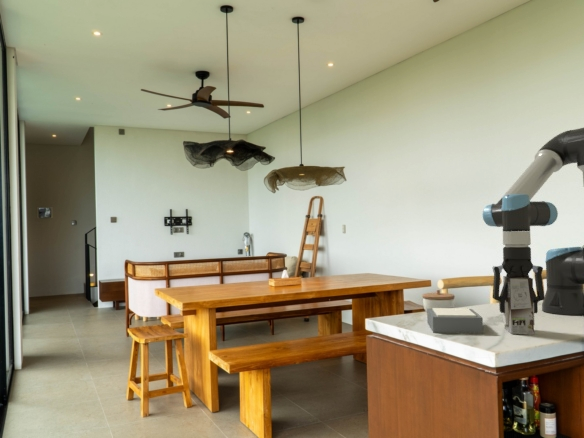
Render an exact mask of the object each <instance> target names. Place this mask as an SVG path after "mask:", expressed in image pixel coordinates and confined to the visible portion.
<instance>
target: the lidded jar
mask: <svg viewBox="0 0 584 438" xmlns="http://www.w3.org/2000/svg"><path fill="white" fill-rule="evenodd" d="M455 297H456V296H455V295H454V294H453V293H446V292H441V290H440V289H436V292H426V293H423V294H422V305H423V306H422V307H423V308H424V311H425V313H426V314H427V309H432V308H455Z"/></svg>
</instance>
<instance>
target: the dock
mask: <svg viewBox="0 0 584 438" xmlns="http://www.w3.org/2000/svg"><path fill="white" fill-rule="evenodd" d="M426 316H427V317H426V318H427V320H426V322H427V325H428V326H429V328H430V330H431V331H432V333H433V334H436V333H437V334H479V335H480V334H482V335H483V334H484V326H483V325H484V322H483V321H484V320H483V317H482V315H480V314H479V313H477V312H476V311H475V310H474V309H472V308H469V307H467V308H462V307H459V308H456V307H454V308H432V309H427V313H426Z"/></svg>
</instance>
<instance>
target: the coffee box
mask: <svg viewBox="0 0 584 438" xmlns="http://www.w3.org/2000/svg"><path fill="white" fill-rule="evenodd" d="M505 279H506V280H507V290H508V294H507V297H506V300H505V301H506V302H508V325H505V324H504V329H506V331H508V333H510V334H512V335H532V336H533V335H535V325H534V323H535V314H534V315H533V289H534V281H533V280H534V278H532V277H529V278H527V277H514V278H507V277H506V275H505V276H503V277H502V280H503V281H502V286H503V285H504V282H505Z"/></svg>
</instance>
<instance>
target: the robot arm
mask: <svg viewBox="0 0 584 438" xmlns="http://www.w3.org/2000/svg"><path fill="white" fill-rule="evenodd" d="M570 164H576V166H577V169H579V170H580V171H581V172H582V183H583V186H584V127H580V128H575V129H570V130H565V131H563V132H560V133H559V134H557V135H555V136H553V137H552V138H551V139H549V140H548V141H547V142H546V143H545V144H543V146H541V148H540V149H538V151H537V152H536V153H535V155H534V160H533V161H532V162H531V163H530V165H529V166H527V168H526V169H525V170H524V171H523V172H522V174H521V175H520V176H519V177H518V178H517V179H516V181H515V182H514V183H513V184H512V185H511V187H510V188H508V190H507V191H506V192H505V193H504V195H503V196H502V197H501V198H500V199H499V200H498V201H497V203H492V204H487V205H486V206H485V207H484V208H483V211H482V220H483V221H484V223H485V225H486V226H489V227H494V228H495V227H496V228H500V227H501V228H502V244H503V248H502V256H503V257H502V259H503V262H502V263H501V265H500V264H499V265H493V266H492V272H493V285H492V286H493V287H492V299H493V300H495V301H498V303H499V305H498V306H499V312H500V313H501V314H502V316H503V317H502V318H503V319H502V323H503V324H504V326H505V325H508V302H506V301H505V300H506V297H507V294H508V290H507V280H506V279H505V282H504V285H503V284H502V289H501V292H500V286H501V285H500V284H501V273H502V270H504V272H505V273H506V275H505V276H506V277H507V278H514V277H527V278H530V275H529V274H530V272H531V271H532V272H533V273H534V281H535V289H536V292H535V289H534V288H533V315H534V316H535V314H538V311H539V310H538V303H540V302H541V301H542V304H541V311H542V312H545V313H549V314H555V315H565V316H567V315H568V316H569V315H570V316H580V315H582V316H583V315H584V244H583V245H582V246H572V247H561V248H553V249H549V250H547V251H546V252H545V275H546V277H545V278H546V291H544V285H543V283H544V282H543V278H542V277H543V275H542V274H543V269H544V268H543V266H541V265H540V266H539V265H534V264H533V262H532V248H531V245H532V242H531V227H546V226H551V225H553V224H554V223H555V222H556V221H557V219H558V214H559V213H558V209H557V207H556V205H555V204H553V203H552V202H549V201H546V200H545V201H543V200H541V201H532V199H533V198H534V196H535V195H536V194H537V193H538V192H539V190H540V189H541V188H542V187H543V186H544V184H545V183H546V182H547V181H548V180H549V178H550V177H551V176H552V174H554V173H556V172H559V171H560V170H561V169H562V168H563V167H565V166H566V165H570ZM544 292H545V293H544ZM535 323H536V322H534V326H535Z"/></svg>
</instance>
